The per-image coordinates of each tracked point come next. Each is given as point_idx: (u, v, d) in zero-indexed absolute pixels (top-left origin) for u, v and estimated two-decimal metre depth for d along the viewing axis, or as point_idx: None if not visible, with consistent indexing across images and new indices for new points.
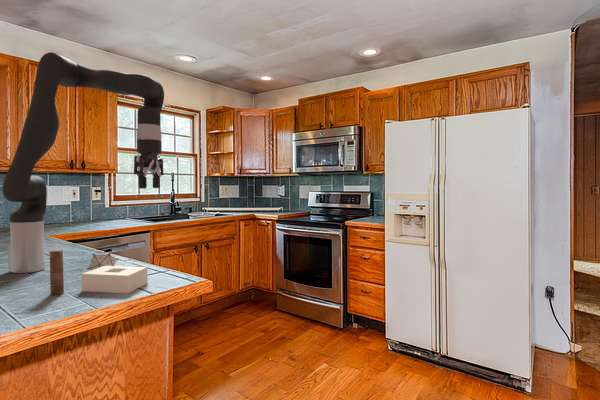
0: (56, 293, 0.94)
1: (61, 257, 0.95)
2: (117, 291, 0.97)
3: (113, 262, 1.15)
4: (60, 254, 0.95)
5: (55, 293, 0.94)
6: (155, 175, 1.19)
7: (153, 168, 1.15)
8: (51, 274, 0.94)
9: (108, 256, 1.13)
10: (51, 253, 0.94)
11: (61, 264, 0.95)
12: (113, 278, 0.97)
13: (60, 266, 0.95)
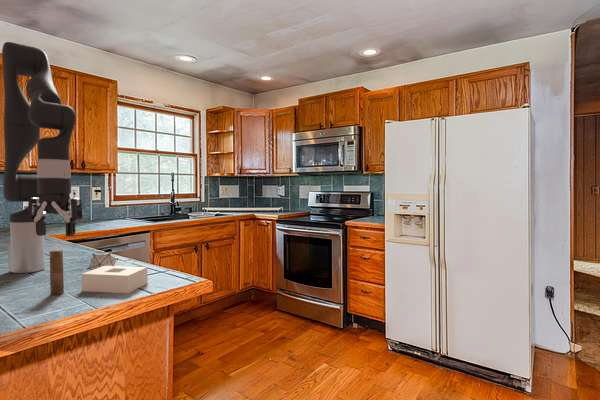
0: (56, 293, 0.94)
1: (61, 257, 0.95)
2: (117, 291, 0.97)
3: (113, 262, 1.15)
4: (60, 254, 0.95)
5: (55, 293, 0.94)
6: (41, 219, 0.95)
7: None
8: (51, 274, 0.94)
9: (108, 256, 1.13)
10: (51, 253, 0.94)
11: (61, 264, 0.95)
12: (113, 278, 0.97)
13: (60, 266, 0.95)
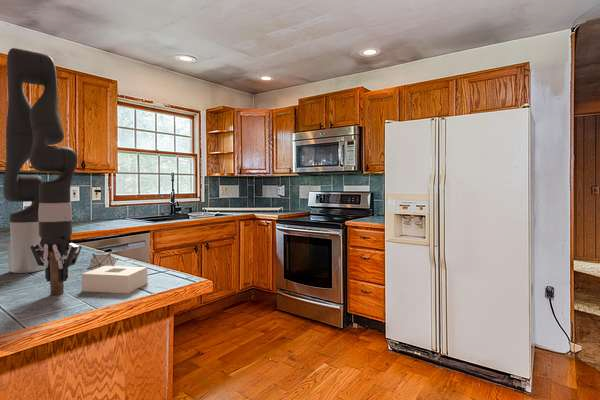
0: (56, 293, 0.94)
1: None
2: (117, 291, 0.97)
3: (113, 262, 1.15)
4: None
5: (55, 293, 0.94)
6: None
7: None
8: (51, 274, 0.94)
9: (108, 256, 1.13)
10: (51, 253, 0.94)
11: None
12: (113, 278, 0.97)
13: None
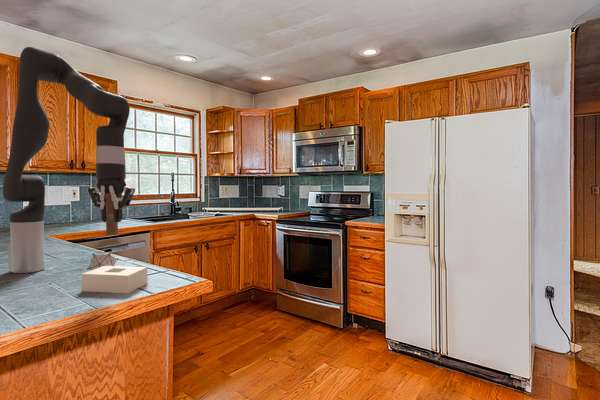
0: (112, 233, 0.99)
1: None
2: (117, 291, 0.97)
3: (113, 262, 1.15)
4: None
5: (111, 233, 0.99)
6: None
7: None
8: (107, 214, 0.99)
9: (108, 256, 1.13)
10: (107, 194, 0.99)
11: None
12: (113, 278, 0.97)
13: None
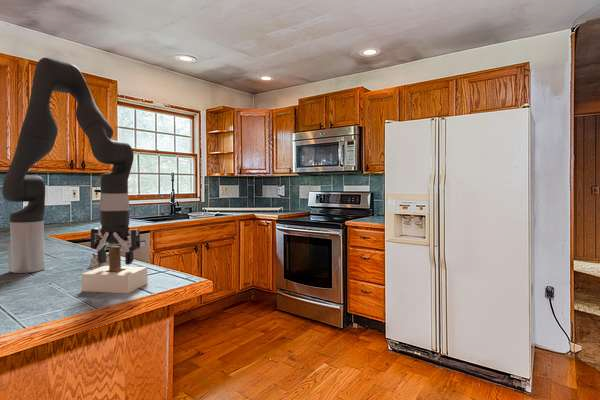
0: None
1: (119, 253, 1.02)
2: (117, 291, 0.97)
3: None
4: (119, 250, 1.01)
5: None
6: (102, 248, 1.02)
7: None
8: (111, 268, 1.01)
9: (108, 256, 1.13)
10: (111, 249, 1.00)
11: (119, 259, 1.02)
12: (113, 278, 0.97)
13: (118, 261, 1.01)
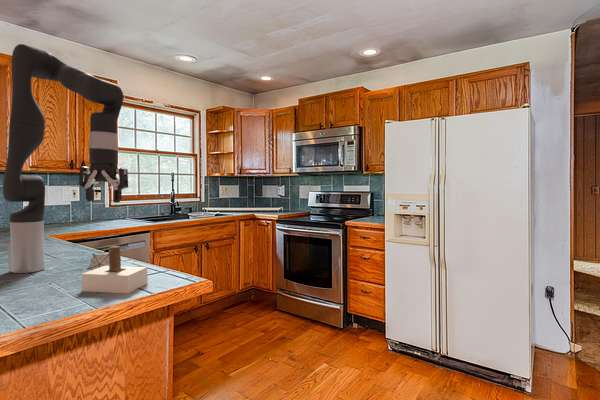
0: None
1: (119, 253, 1.02)
2: (117, 291, 0.97)
3: None
4: (119, 250, 1.01)
5: None
6: (90, 186, 1.05)
7: None
8: (111, 268, 1.01)
9: (108, 256, 1.13)
10: (111, 249, 1.00)
11: (119, 259, 1.02)
12: (113, 278, 0.97)
13: (118, 261, 1.01)
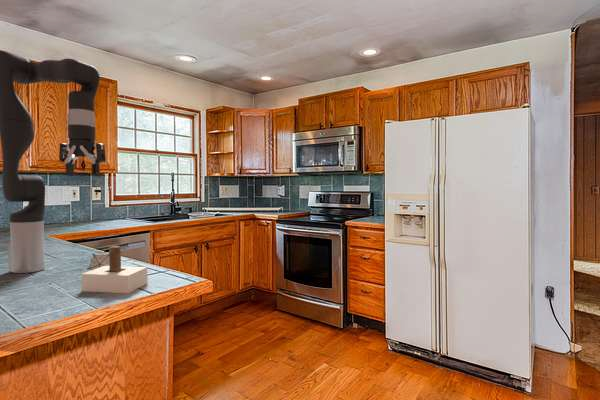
0: None
1: (119, 253, 1.02)
2: (117, 291, 0.97)
3: None
4: (119, 250, 1.01)
5: None
6: (70, 162, 1.12)
7: None
8: (111, 268, 1.01)
9: (108, 256, 1.13)
10: (111, 249, 1.00)
11: (119, 259, 1.02)
12: (113, 278, 0.97)
13: (118, 261, 1.01)
